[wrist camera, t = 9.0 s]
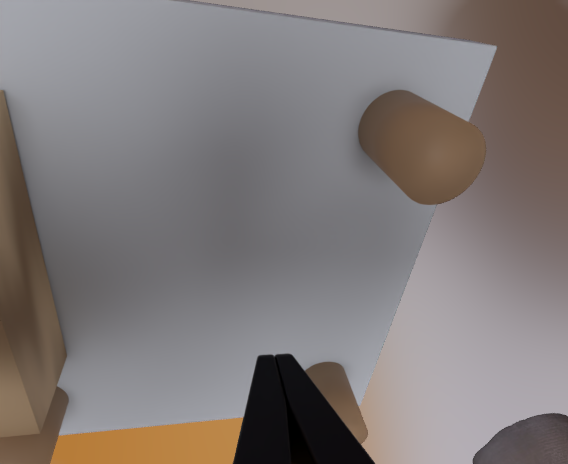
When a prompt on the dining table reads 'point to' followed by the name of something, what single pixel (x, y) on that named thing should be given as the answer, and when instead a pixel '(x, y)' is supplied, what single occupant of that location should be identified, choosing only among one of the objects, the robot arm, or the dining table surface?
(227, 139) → the grey peg board
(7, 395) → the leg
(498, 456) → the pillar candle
